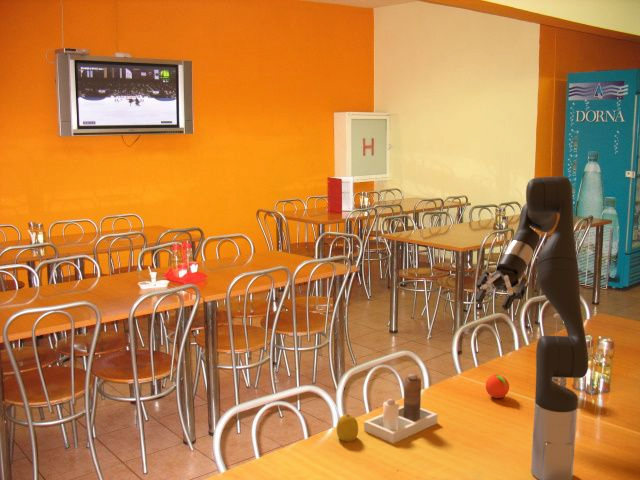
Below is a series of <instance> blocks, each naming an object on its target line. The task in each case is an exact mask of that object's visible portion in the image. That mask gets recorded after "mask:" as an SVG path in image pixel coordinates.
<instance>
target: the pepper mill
mask: <svg viewBox="0 0 640 480" xmlns="http://www.w3.org/2000/svg"><path fill="white" fill-rule="evenodd" d="M403 383H404V385H403V386H404V387H403V405H404V418H406V419H408V420H411V421H413V422H415V421H418V420H420V408H421V400H422V399H421V396H422V379H421V378H420V377H418V374H417V373H408V376H407V377H404V382H403Z"/></svg>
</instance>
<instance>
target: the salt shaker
mask: <svg viewBox="0 0 640 480" xmlns="http://www.w3.org/2000/svg"><path fill="white" fill-rule="evenodd" d="M382 405H383V407H382V408H383V409H382V414H383V428H386V429H388V430H390V431H395V430H397V429H398V418H399V407H400V406H399V405H400V404H399V402H398V401H395V400H394V398H388V399H387V400H386V401H384V402H383V404H382Z"/></svg>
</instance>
